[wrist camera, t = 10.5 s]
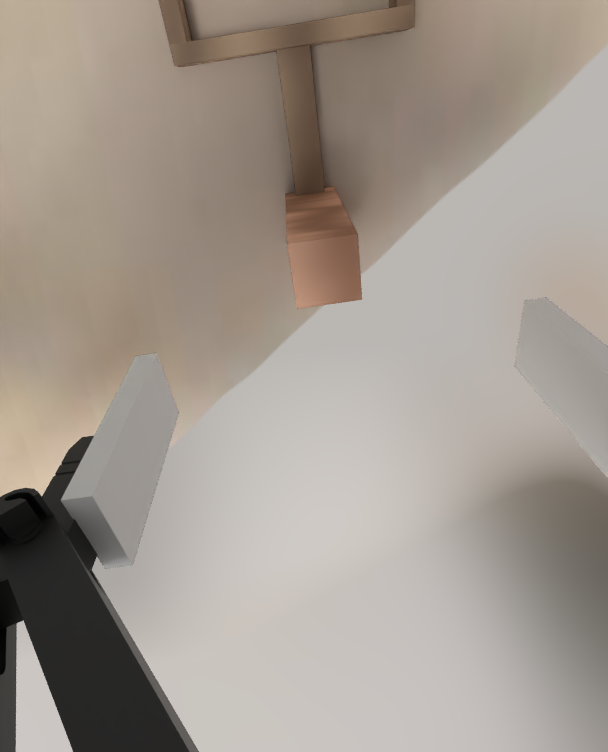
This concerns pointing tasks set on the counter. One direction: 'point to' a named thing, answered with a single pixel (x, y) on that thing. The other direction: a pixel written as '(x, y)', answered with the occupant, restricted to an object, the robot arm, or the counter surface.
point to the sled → (301, 137)
